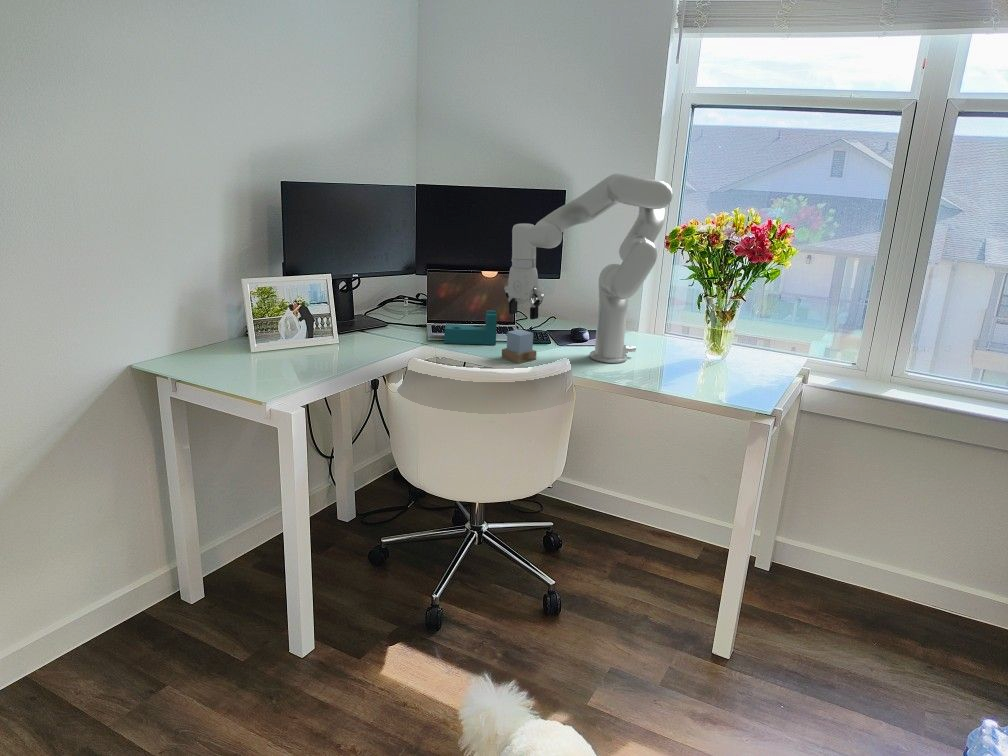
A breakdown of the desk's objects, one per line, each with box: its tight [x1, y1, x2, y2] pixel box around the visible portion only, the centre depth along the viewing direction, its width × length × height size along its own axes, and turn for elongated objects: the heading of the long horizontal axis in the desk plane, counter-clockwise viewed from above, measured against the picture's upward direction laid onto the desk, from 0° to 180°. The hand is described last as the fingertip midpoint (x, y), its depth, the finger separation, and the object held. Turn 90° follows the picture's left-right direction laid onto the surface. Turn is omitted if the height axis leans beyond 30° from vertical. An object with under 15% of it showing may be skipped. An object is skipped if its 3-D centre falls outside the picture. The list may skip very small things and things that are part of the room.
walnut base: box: [501, 347, 537, 365], centre depth 241 cm, size 8×8×3 cm
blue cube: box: [506, 328, 534, 354], centre depth 240 cm, size 6×6×6 cm
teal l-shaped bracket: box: [443, 310, 498, 346], centre depth 259 cm, size 18×11×10 cm, turn 92°
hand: (523, 316), depth 237 cm, fingers open, 9 cm apart
